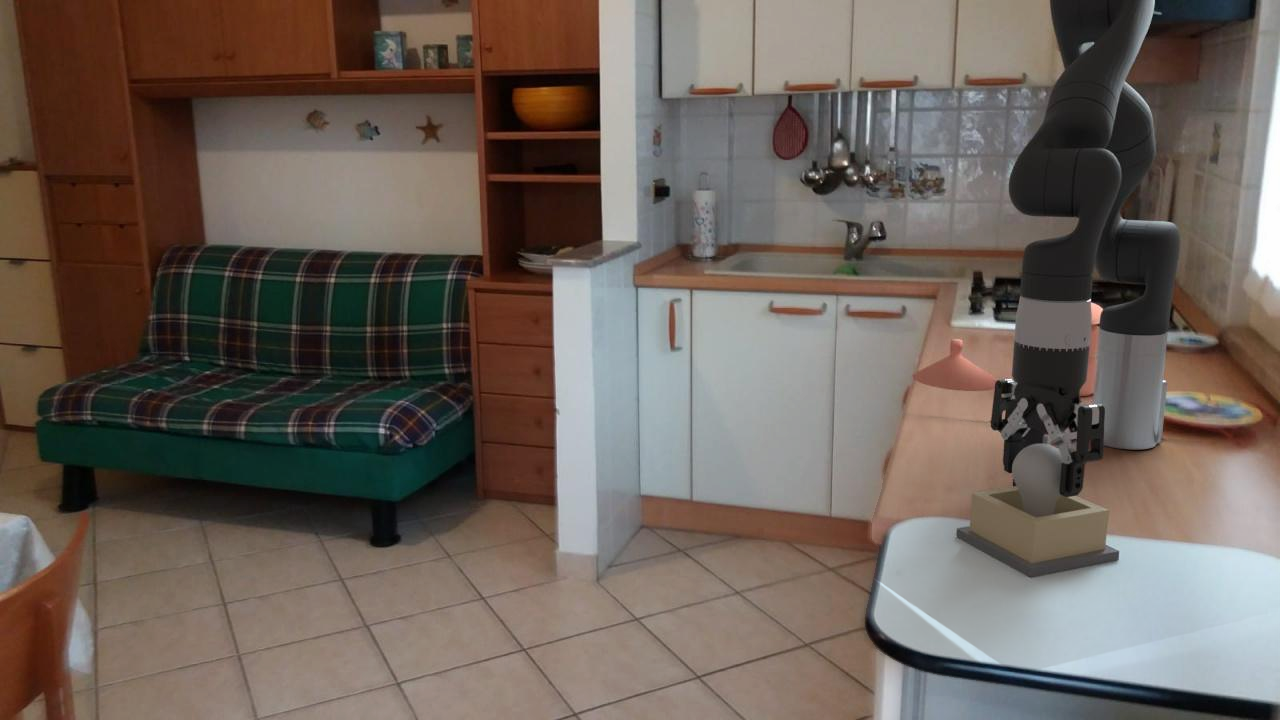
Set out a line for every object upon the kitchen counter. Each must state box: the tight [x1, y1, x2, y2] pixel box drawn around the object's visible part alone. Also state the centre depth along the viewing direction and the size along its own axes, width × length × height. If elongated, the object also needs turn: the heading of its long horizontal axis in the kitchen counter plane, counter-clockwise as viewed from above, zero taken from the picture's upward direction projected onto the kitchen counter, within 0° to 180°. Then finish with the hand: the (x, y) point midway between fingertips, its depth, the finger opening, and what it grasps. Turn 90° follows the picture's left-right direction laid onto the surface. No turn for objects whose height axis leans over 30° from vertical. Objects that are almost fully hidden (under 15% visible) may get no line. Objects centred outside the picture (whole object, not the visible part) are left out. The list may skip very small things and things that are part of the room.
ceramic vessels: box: [912, 302, 1104, 397], centre depth 182 cm, size 35×21×19 cm, turn 71°
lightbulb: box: [1011, 444, 1064, 518], centre depth 113 cm, size 6×6×11 cm
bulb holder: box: [955, 485, 1120, 578], centre depth 114 cm, size 12×12×6 cm
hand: (1040, 483), depth 112 cm, fingers open, 8 cm apart
